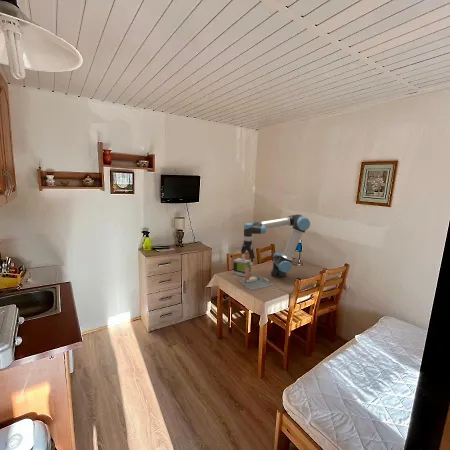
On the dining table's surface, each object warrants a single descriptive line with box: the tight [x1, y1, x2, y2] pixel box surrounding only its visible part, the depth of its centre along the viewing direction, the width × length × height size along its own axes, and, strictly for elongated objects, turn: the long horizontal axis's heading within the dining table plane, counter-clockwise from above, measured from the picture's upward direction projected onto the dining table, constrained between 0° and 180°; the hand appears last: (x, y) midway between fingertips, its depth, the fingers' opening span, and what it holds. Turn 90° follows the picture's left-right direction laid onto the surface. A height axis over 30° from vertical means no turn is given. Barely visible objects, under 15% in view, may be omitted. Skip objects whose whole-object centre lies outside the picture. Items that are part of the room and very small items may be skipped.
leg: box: [244, 268, 257, 283], centre depth 236 cm, size 11×4×13 cm, turn 116°
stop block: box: [262, 277, 271, 284], centre depth 235 cm, size 2×8×3 cm, turn 26°
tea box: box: [232, 257, 252, 278], centre depth 253 cm, size 15×10×15 cm, turn 56°
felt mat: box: [238, 275, 274, 292], centre depth 234 cm, size 24×22×1 cm
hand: (247, 262), depth 231 cm, fingers open, 13 cm apart
